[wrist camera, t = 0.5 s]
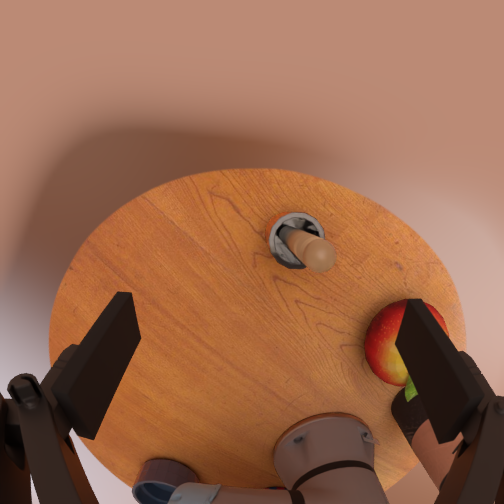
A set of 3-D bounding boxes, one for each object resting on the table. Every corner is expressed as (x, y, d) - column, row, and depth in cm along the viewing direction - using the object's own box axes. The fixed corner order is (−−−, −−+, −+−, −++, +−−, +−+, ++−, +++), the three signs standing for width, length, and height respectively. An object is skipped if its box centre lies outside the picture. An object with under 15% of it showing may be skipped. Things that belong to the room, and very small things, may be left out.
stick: (295, 243, 36) (339, 276, 18) (278, 242, 36) (304, 275, 18) (296, 225, 36) (342, 240, 17) (279, 224, 36) (306, 239, 17)
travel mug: (422, 420, 40) (480, 499, 21) (382, 421, 40) (434, 513, 20) (439, 379, 40) (513, 453, 20) (399, 379, 39) (469, 466, 20)
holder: (307, 256, 37) (323, 270, 28) (263, 254, 37) (267, 268, 28) (309, 213, 37) (327, 214, 28) (265, 211, 37) (269, 210, 28)
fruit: (436, 299, 38) (479, 322, 28) (409, 370, 39) (442, 406, 29) (371, 283, 38) (405, 305, 28) (344, 361, 39) (367, 401, 29)
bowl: (201, 496, 42) (197, 520, 37) (146, 488, 42) (138, 510, 37) (198, 460, 41) (192, 486, 35) (137, 451, 41) (126, 475, 35)
